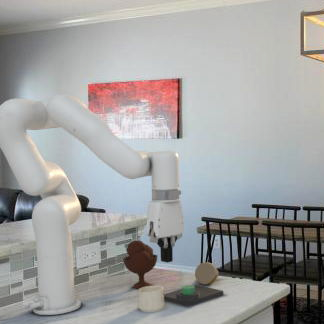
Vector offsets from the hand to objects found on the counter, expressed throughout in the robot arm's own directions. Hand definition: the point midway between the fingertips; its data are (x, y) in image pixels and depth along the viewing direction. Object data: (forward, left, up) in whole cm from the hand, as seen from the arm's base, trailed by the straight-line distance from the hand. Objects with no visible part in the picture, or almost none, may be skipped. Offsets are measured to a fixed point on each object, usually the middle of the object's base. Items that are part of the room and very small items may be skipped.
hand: (166, 261), depth 151 cm
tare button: (+5, -3, -10) cm, 11 cm away
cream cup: (-4, +2, -13) cm, 13 cm away
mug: (+25, +10, -13) cm, 29 cm away
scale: (+10, +1, -13) cm, 16 cm away
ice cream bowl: (+9, +24, -13) cm, 28 cm away
